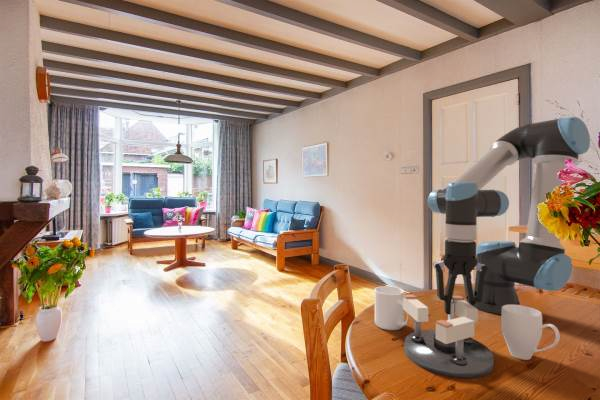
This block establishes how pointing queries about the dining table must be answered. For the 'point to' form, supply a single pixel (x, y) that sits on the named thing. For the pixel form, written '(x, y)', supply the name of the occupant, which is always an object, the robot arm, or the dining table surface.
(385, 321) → the mug
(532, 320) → the mug
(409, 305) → the handle
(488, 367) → the base
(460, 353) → the knob
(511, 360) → the dining table surface
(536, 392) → the dining table surface
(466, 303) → the handle
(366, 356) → the dining table surface
